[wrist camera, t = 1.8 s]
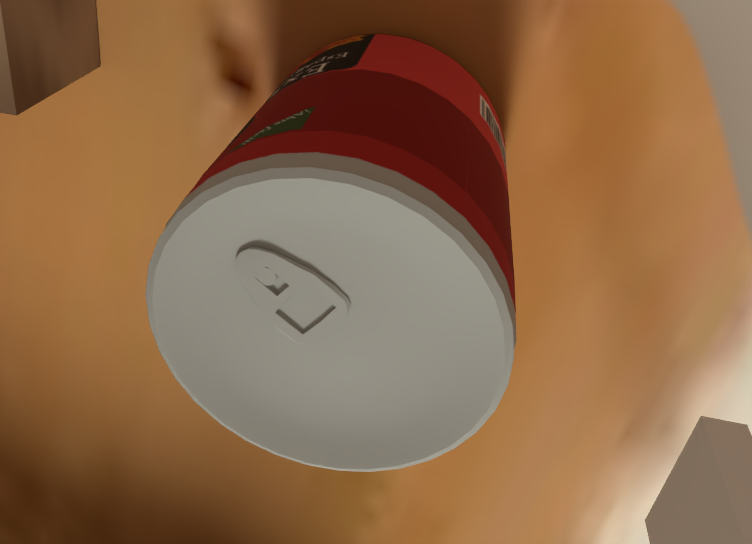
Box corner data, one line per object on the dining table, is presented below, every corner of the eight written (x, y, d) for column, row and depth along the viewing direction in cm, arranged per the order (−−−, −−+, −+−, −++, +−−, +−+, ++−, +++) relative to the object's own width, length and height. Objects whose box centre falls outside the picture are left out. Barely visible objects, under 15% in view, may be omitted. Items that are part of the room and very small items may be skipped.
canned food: (335, -23, 21) (217, 85, 12) (555, 111, 22) (603, 303, 13) (239, 176, 25) (95, 374, 16) (431, 281, 26) (401, 521, 17)
